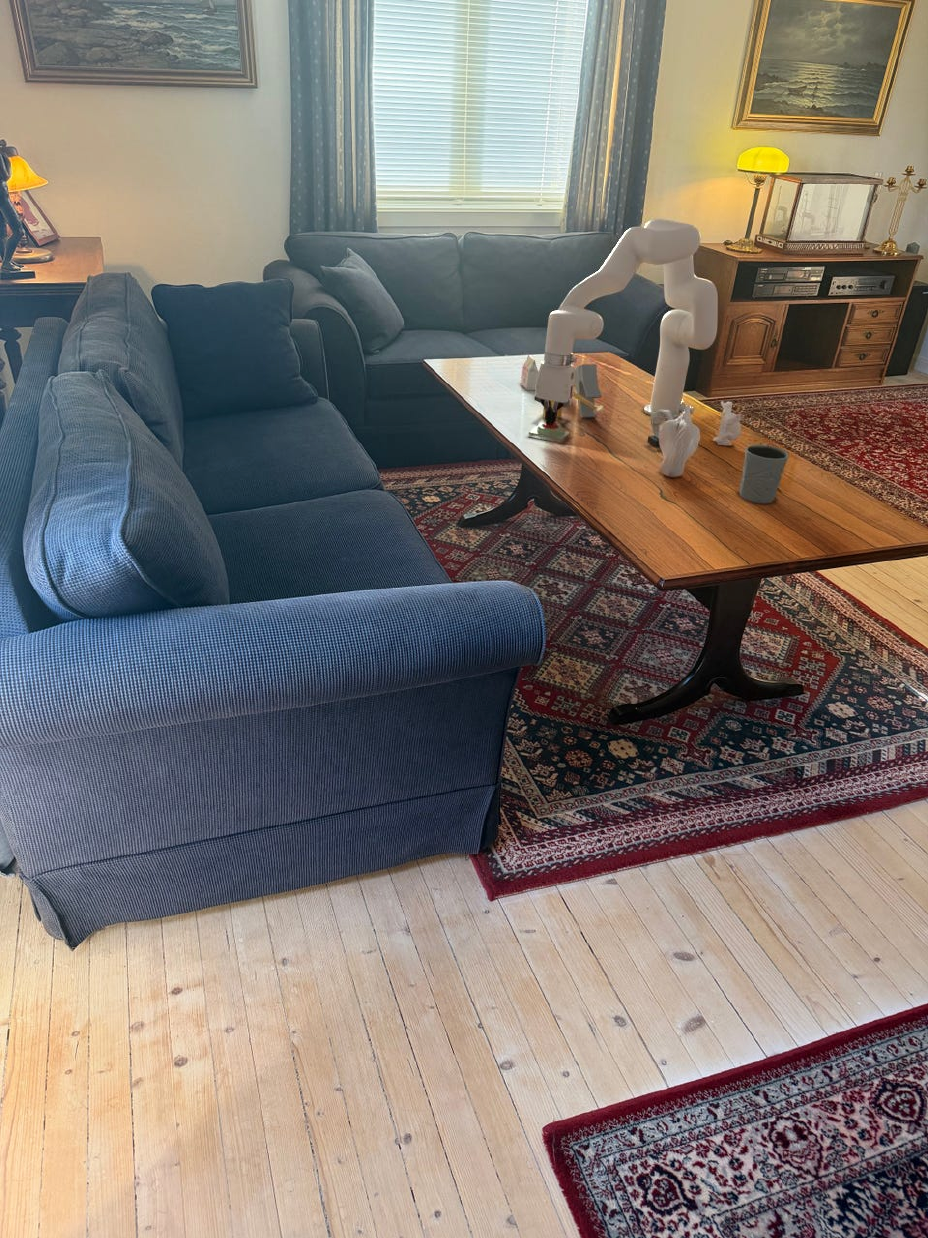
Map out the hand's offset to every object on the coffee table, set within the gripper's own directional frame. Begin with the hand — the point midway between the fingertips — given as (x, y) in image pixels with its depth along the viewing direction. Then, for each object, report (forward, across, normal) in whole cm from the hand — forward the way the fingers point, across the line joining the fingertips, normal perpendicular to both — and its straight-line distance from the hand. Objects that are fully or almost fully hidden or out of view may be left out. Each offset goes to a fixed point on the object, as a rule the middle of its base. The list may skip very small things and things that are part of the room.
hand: (549, 423), depth 239 cm
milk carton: (+4, +23, -46) cm, 51 cm away
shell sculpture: (+4, -38, +9) cm, 39 cm away
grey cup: (+4, -60, +12) cm, 61 cm away
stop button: (+2, 0, 0) cm, 2 cm away
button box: (+4, 0, 0) cm, 4 cm away
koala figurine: (+4, -46, -25) cm, 52 cm away
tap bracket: (+4, +4, -14) cm, 15 cm away
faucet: (+4, +3, -31) cm, 31 cm away
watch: (+4, -30, -10) cm, 32 cm away
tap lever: (-4, -2, -14) cm, 15 cm away
